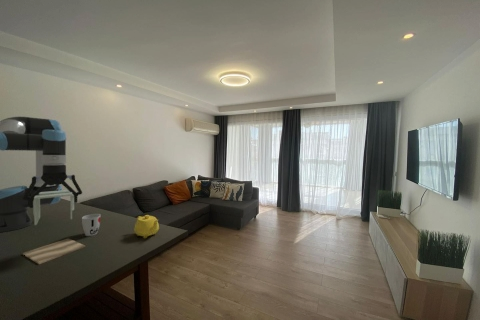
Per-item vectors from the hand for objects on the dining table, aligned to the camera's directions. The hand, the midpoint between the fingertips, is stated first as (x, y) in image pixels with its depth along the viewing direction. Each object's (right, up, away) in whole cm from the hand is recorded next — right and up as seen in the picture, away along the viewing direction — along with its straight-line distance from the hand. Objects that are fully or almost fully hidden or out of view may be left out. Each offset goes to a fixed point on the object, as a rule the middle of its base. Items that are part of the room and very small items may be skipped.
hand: (55, 212), depth 85 cm
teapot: (+32, -18, +20) cm, 42 cm away
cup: (+2, -17, +18) cm, 25 cm away
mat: (-1, -18, +1) cm, 18 cm away
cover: (0, -3, 0) cm, 3 cm away
